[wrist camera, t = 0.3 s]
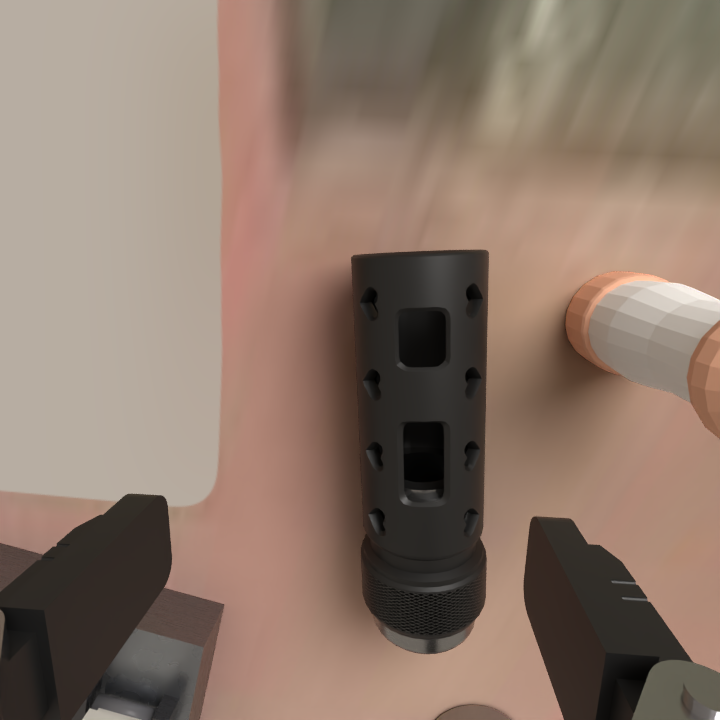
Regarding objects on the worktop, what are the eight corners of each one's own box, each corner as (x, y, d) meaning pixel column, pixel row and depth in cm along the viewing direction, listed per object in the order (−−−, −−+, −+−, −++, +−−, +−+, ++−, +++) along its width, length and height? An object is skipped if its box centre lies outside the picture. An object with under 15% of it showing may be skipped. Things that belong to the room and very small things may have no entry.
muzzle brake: (478, 248, 37) (508, 250, 27) (473, 567, 43) (496, 665, 33) (354, 253, 37) (337, 257, 27) (367, 565, 44) (359, 660, 34)
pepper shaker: (551, 296, 37) (706, 350, 18) (645, 254, 36) (915, 267, 17) (583, 379, 38) (759, 508, 20) (676, 341, 37) (957, 441, 18)
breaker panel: (-44, 531, 46) (-122, 582, 39) (224, 604, 46) (192, 669, 39) (-49, 660, 50) (-121, 727, 43) (197, 728, 50) (165, 807, 43)
